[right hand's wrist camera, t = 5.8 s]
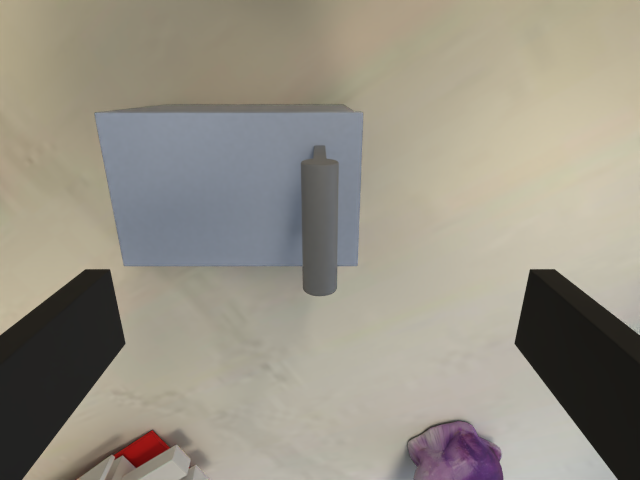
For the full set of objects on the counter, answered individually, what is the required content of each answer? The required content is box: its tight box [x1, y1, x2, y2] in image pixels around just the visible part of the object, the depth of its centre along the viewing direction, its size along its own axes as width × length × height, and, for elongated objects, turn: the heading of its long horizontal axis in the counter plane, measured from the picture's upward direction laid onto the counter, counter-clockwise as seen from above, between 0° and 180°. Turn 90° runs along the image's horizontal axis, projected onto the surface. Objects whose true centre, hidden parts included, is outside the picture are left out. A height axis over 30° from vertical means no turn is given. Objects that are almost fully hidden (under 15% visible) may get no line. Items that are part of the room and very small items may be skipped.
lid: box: [94, 112, 363, 296], centre depth 23 cm, size 16×10×8 cm, turn 90°
